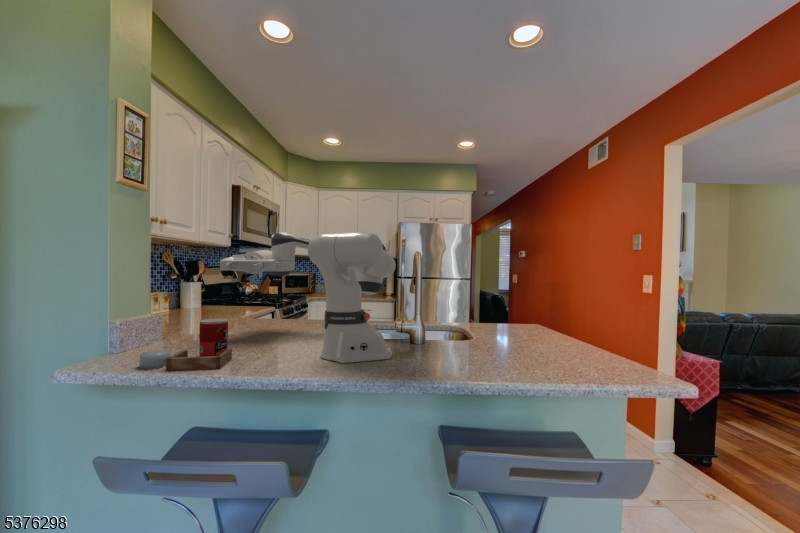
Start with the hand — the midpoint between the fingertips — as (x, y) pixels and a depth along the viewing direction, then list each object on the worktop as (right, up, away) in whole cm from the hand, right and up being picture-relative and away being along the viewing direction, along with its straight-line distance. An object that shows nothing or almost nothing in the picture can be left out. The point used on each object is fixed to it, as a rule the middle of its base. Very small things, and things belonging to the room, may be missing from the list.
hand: (240, 266), depth 126 cm
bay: (+2, -28, -27) cm, 39 cm away
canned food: (0, -28, -18) cm, 33 cm away
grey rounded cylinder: (-10, -28, -30) cm, 42 cm away
